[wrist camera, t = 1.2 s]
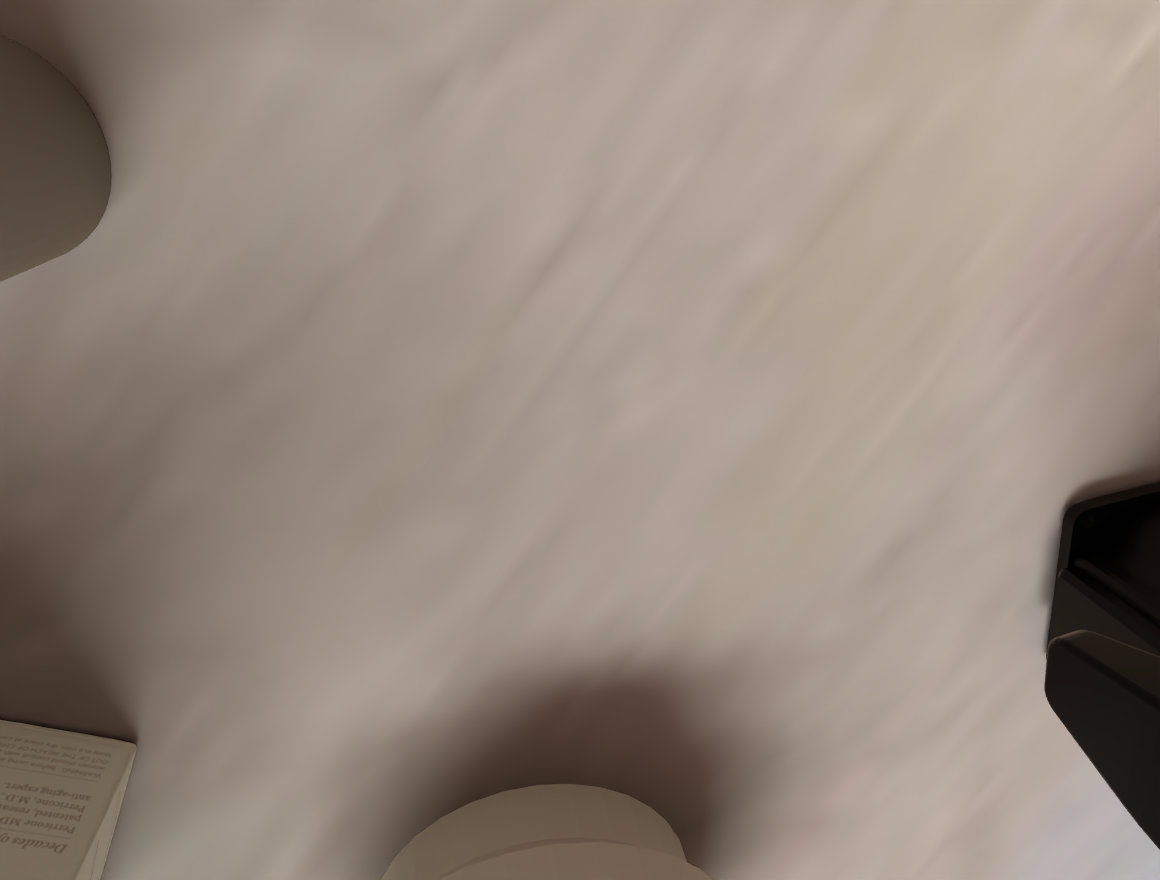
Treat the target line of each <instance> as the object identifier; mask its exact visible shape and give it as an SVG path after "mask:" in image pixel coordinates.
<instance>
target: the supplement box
mask: <svg viewBox="0 0 1160 880" xmlns="http://www.w3.org/2000/svg"><path fill="white" fill-rule="evenodd" d="M136 751H137V747H136V745H135V744H133V743H130V742H124V741H120V740H115V739H109V738H102V737H97V736H92V735H87V734H81V733H75V732H69V731H63V730H57V729H51V728H45V727H39V726H34V725H29V724H24V723H17V722H10V721H4V720H0V880H100V879H101V876H102V872H103V869H104V866H105V862H106V859H107V855H108V852H109V848H110V844H111V841H112V837H113V834H114V830H115V826H116V823H117V819H118V816H119V812H120V808H121V805H122V801H123V798H124V794H125V790H126V787H127V783H128V780H129V776H130V772H131V768H132V765H133V761H134V757H135V754H136Z"/></svg>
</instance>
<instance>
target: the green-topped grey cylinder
mask: <svg viewBox="0 0 1160 880" xmlns="http://www.w3.org/2000/svg"><path fill="white" fill-rule="evenodd" d="M110 186H111V167H110V159H109V154H108V149H107V145H106V142H105V139H104V136H103V133H102V131H101V129H100V126H99V124H98V122H97V120H96V118H95V116H94V114H93V113H92V111H91V109H90V108H89V106H88V105H87V103H86V101H85V100H84V99H83V98H82V96H81V95H80V94H79V92H78V91H77V90H76V89H75V87H74V86H73V85H72V84H71V83H70V82H69V81H68V80H67V79H66V78H65V77H64V76H63V75H62V74H61V73H60V72H59V71H58V70H57V69H55V68H54V67H53V66H52V65H51V64H50V63H48V62H47V61H46V60H44V59H43V58H41V57H40V56H39V55H37V54H36V53H34V52H33V51H31V50H29V49H27V48H26V47H24V46H22V45H20V44H18V43H17V42H15V41H12V40H10V39H7V38H5V37H3V36H0V282H1V281H3V280H5V279H8V278H10V277H12V276H15V275H17V274H19V273H22V272H24V271H26V270H29V269H31V268H33V267H35V266H38V265H40V264H42V263H45V262H47V261H49V260H52V259H54V258H56V257H59V256H61V255H63V254H65V253H67V252H69V251H70V250H72V249H74V248H75V247H77V246H78V245H79V244H80V243H82V242H83V241H84V240H85V239H86V238H87V237H88V236H89V235H90V234H91V233H92V231H93V230H94V229H95V228H96V226H97V225H98V223H99V221H100V219H101V218H102V216H103V213H104V211H105V208H106V206H107V203H108V198H109V194H110Z"/></svg>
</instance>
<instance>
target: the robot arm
mask: <svg viewBox="0 0 1160 880" xmlns="http://www.w3.org/2000/svg"><path fill="white" fill-rule="evenodd" d="M1046 660H1047V662H1046V674H1045V693H1046V697H1047V700H1048V702H1049V704H1050V706H1051V708H1052V709H1053V711H1054V712H1055V713H1056V715H1057V716H1058V717H1059V719H1060V720H1061V722H1062V723H1063V724H1064V726H1065V727H1066V728H1067V730H1068V731H1069V732H1070V734H1071V735H1072V736H1073V738H1074V739H1075V740H1076V742H1077V743H1078V745H1079V746H1080V747H1081V749H1082V750H1083V751H1084V753H1085V754H1086V755H1087V757H1088V758H1089V759H1090V761H1091V762H1092V763H1093V765H1094V766H1095V768H1096V769H1097V770H1098V772H1099V773H1100V774H1101V776H1102V777H1103V778H1104V780H1105V781H1106V782H1107V784H1108V785H1109V786H1110V788H1111V789H1112V791H1113V792H1114V793H1115V795H1116V796H1117V797H1118V799H1119V800H1120V801H1121V803H1122V804H1123V805H1124V807H1125V808H1126V809H1127V811H1128V812H1129V813H1130V814H1131V816H1132V817H1133V818H1134V820H1135V821H1136V822H1137V823H1138V825H1139V826H1140V827H1141V828H1142V830H1143V831H1144V832H1145V833H1146V834H1147V835H1148V837H1149V838H1150V839H1151V840H1152V841H1153V842H1154V844H1155V845H1156V846H1157V847H1158V848H1159V849H1160V482H1159V483H1155V484H1151V485H1147V486H1143V487H1139V488H1135V489H1131V490H1127V491H1123V492H1119V493H1115V494H1111V495H1107V496H1103V497H1099V498H1095V499H1091V500H1087V501H1083V502H1080V503H1077V504H1075V505H1073V506H1072V507H1071V508H1070V509H1069V510H1068V511H1067V512H1066V514H1065V516H1064V519H1063V526H1062V534H1061V542H1060V550H1059V558H1058V566H1057V574H1056V582H1055V590H1054V598H1053V606H1052V614H1051V622H1050V630H1049V638H1048V646H1047V654H1046Z"/></svg>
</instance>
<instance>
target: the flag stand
mask: <svg viewBox="0 0 1160 880" xmlns="http://www.w3.org/2000/svg"><path fill="white" fill-rule="evenodd" d="M381 880H713V879H712V878H711V877H709V876H708V875H707V874H706V873H705V872H704V871H703V870H701V869H699V868H697V867H695V866H693V865H691V864H689V863H687V861H686V858H685V855H684V852H683V849H682V846H681V843H680V840H679V838H678V837H677V835H676V834H675V832H674V831H673V829H672V828H671V826H670V825H669V823H668V822H667V821H666V820H665V819H664V818H662V817H661V816H660V815H659V814H658V813H657V812H656V811H655V810H653V809H652V808H651V807H649V806H648V805H646V804H644V803H642V802H640V801H638V800H636V799H634V798H632V797H631V796H629V795H626V794H622V793H619V792H616V791H612V790H609V789H605V788H602V787H595V786H586V785H578V784H549V785H535V786H529V787H524V788H518V789H513V790H507V791H503V792H500V793H497V794H494V795H491V796H488V797H485V798H482V799H479V800H476V801H473V802H471V803H469V804H467V805H465V806H463V807H461V808H459V809H457V810H455V811H453V812H451V813H449V814H447V815H445V816H443V817H441V818H440V819H438V820H437V821H435V822H434V823H433V824H431V825H430V826H428V827H427V828H426V829H424V830H423V831H421V832H420V833H419V834H417V835H416V836H415V837H414V838H413V839H412V840H411V841H410V842H409V843H408V844H407V845H406V846H405V847H404V848H403V849H402V850H401V851H400V852H399V853H398V854H397V855H396V856H395V858H394V859H393V861H392V862H391V864H390V865H389V867H388V869H387V870H386V872H385V873H384V875H383V876H382V878H381Z"/></svg>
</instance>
